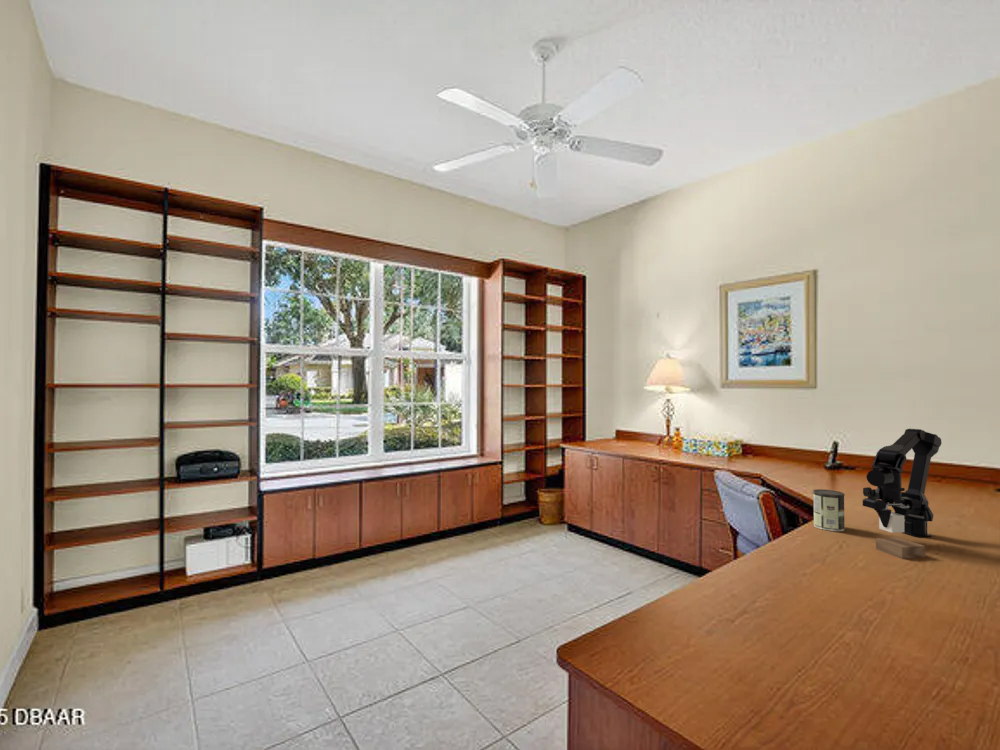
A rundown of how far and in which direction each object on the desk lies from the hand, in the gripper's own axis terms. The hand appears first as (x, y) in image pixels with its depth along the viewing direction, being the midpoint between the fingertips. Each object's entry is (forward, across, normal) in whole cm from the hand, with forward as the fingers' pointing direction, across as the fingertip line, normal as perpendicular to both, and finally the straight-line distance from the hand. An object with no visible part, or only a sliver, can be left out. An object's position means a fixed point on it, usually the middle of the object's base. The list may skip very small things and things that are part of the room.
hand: (891, 526), depth 172 cm
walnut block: (+5, +9, +11) cm, 16 cm away
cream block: (+1, 0, 0) cm, 1 cm away
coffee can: (+5, +10, -17) cm, 20 cm away
